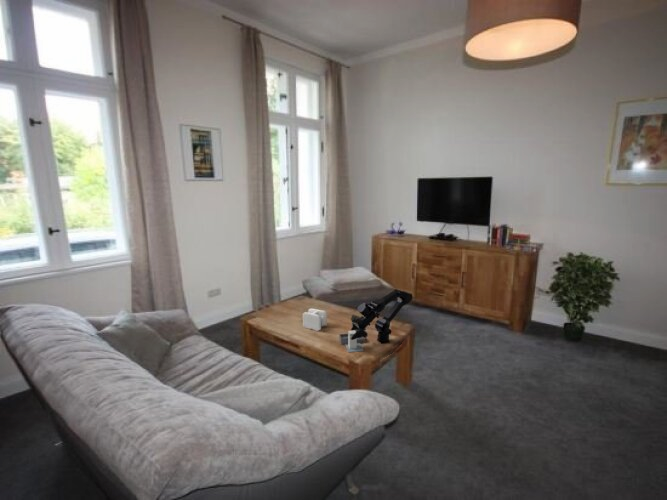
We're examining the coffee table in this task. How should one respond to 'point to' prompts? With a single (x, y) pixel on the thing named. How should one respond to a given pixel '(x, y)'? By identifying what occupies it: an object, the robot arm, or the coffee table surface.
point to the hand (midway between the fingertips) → (350, 337)
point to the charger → (352, 343)
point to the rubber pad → (359, 348)
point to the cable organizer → (314, 319)
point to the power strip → (344, 339)
